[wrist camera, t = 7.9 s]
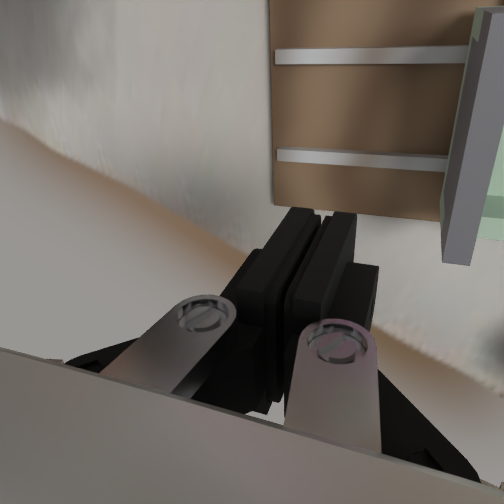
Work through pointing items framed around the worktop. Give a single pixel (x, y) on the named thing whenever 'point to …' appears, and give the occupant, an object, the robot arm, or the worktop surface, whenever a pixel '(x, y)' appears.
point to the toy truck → (476, 145)
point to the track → (366, 102)
